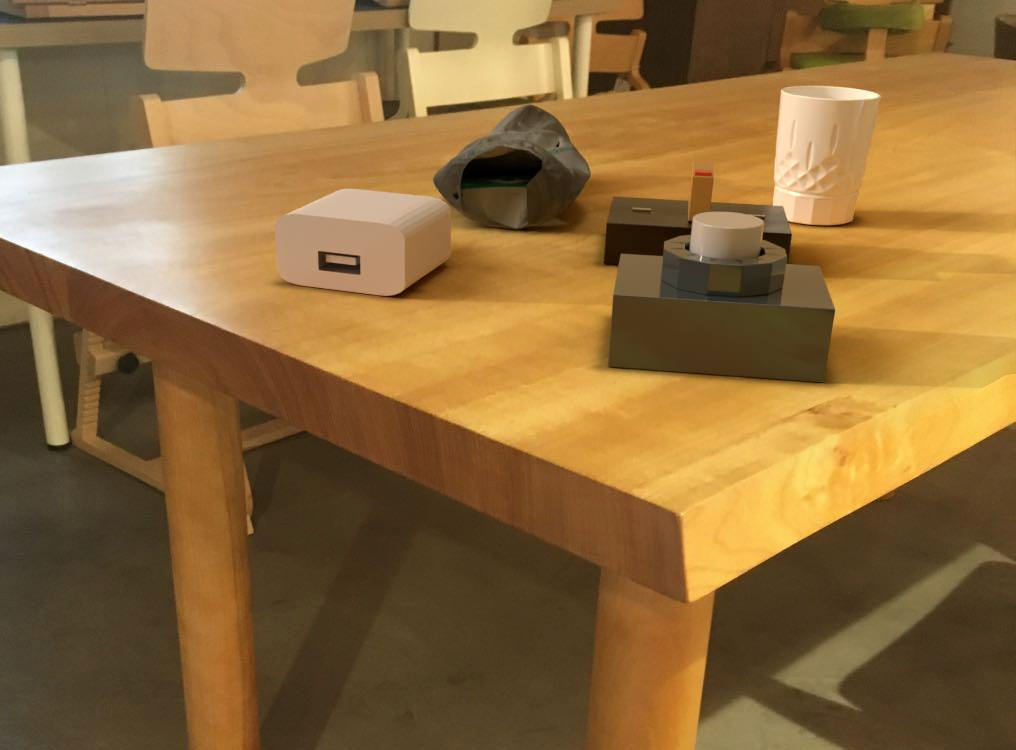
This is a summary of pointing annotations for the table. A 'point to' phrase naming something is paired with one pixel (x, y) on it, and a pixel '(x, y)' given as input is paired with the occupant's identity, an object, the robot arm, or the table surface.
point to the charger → (363, 241)
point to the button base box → (721, 314)
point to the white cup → (822, 151)
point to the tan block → (700, 188)
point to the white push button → (726, 235)
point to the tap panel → (675, 225)
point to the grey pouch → (515, 172)
